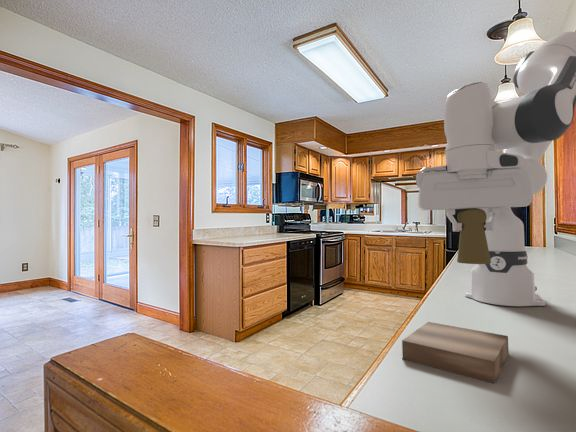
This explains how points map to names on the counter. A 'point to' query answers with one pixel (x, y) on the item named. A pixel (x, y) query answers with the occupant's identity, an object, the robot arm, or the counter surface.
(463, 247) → the olive pawn
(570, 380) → the counter surface
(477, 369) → the walnut base
